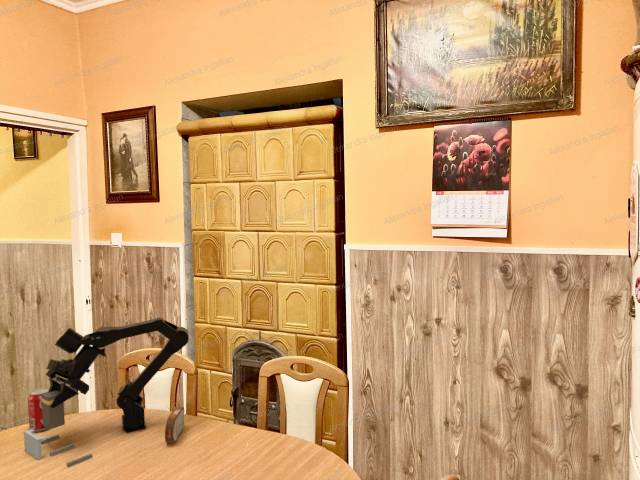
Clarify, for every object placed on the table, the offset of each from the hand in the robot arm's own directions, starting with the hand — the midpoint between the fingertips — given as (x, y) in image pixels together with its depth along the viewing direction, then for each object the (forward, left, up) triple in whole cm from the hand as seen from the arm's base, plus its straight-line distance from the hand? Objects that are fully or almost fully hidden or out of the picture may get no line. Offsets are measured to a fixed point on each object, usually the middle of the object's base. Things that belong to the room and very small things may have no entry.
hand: (48, 405), depth 150 cm
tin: (-35, +14, -14) cm, 40 cm away
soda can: (+2, -19, -14) cm, 23 cm away
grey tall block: (-1, 0, -7) cm, 7 cm away
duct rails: (-2, +5, -13) cm, 15 cm away
